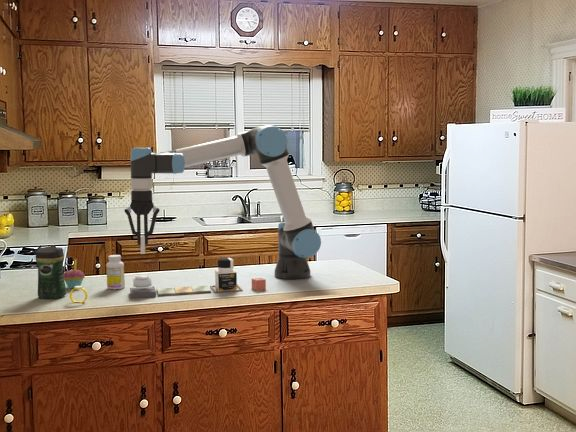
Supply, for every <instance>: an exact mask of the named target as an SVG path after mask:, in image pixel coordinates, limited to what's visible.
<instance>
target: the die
mask: <svg viewBox="0 0 576 432" xmlns="http://www.w3.org/2000/svg"><path fill="white" fill-rule="evenodd" d="M266 281H267V279H265V278H263V277H253V278H251V289H252V290H254V291H264V290H265V291H266V290H267V284H266Z"/></svg>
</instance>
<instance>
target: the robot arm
mask: <svg viewBox="0 0 576 432" xmlns="http://www.w3.org/2000/svg"><path fill="white" fill-rule="evenodd" d="M236 156H237V157H238V156H241V157H244V158H245V157H248V156H257V157H258V160H259V163H260V165H261V166H263V167H265V169H266V171H267V174H268V176H269V180H270V184H271V187H272V189H273V191H274V195H275V198H276V201H277V203H278V206H279V209H280V212H281V214H282V218H283V222H279V223H278V224H277V225H278V226H277V227H278V228H277V235H278V236H277V241H278V243H277V245H278V247H277V248H278V249H277V250H278V259H277V262H276V265H275V268H274V277H275V278H278V279H283V280H301V279H307V278H310V277H311V269H310V265H309V262H308V258H311V257H313V256H315V255H316V254H317V253H318V252H319V250H320V248H321V245H322V240H321V236H320V234H319V233H318V231H316V230H315V228H314V225H313V223H312V219H311V218H309V217H307V216H306V214H305V209H304V207H303V204H302V202H301V199H300V196H299V192H298V189H297V186H296V183H295V180H294V178H293V175H292V172H291V169H290V166H289V162H288V158H289V156H290V154H289V150H288V136H287V135H286V133H285V131H284V130H283V129H282V128H280V127H278V126H276V125H272V124H271V125H270V124H268V125H261V126H257V127H256V126H255V127H253V128H251V129H250V130H245V131H243V132H238V133H236V135H235V136H231V137H226V138H222V139H217V140H213V141H208V142H205V143H199V144H196V145H191V146H186V147H183V148H178V149H174V150H168V151H161V152H153V151H152V148H151V147H133V148H131V149H130V160H129V161H130V188H131V193H130V194H131V196H130V197H131V199H130V202H131V203H130V204H129V207H127V208H124V213H125V214H126V215H127V219H128V222H129V227H130V230H131V233H132V235H133V236H136V237H137V242H136V244H137V245H138V246H140V254H141V255H145V254H146V245H149V236H150V235H153V234H154V230H155V226H156V225H155V224H156V220H157V218H158V217H157V216H158V214H159V213H160V212H161V211H160V208H158V207H156V206H155V205H154V202H153V191H152V189H153V178H152V177H153V176H152V175H153V174H174V175H176V174H183V173H184V172H185V168H189V167H191V166H192V167H193V166H197V165H202V164H205V163H209V162H211V163H212V162H214V161H219V160H224V159H228V158H231V157H236ZM132 211H133V212H134V214H135V215H136V229H135V225H134V221H133V218H132V214H131V213H132ZM151 211H152V212H153V213H152V217H151V223H150V226H148V225H149V224H148V223H149V220H148V219H149V218H148V215H149V214H150V213H151ZM141 216H143V229H144V230H143V235H142V234H141V232H142V231H141V230H142V229H141Z"/></svg>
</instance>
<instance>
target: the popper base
mask: <svg viewBox="0 0 576 432" xmlns="http://www.w3.org/2000/svg"><path fill="white" fill-rule="evenodd" d="M129 294H130V295H129V296H130V299H132V300H133V299H143V298H144V299H145V298H156V297H157V290H156V288H155V286H149V287H129Z"/></svg>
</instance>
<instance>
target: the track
mask: <svg viewBox="0 0 576 432" xmlns="http://www.w3.org/2000/svg"><path fill="white" fill-rule="evenodd" d="M211 290H212V289H211V288H209V286H208V285H194V286H193V285H192V286H178V287H177V286H176V287H164V288H160V287H159V288H156V294H157V297H169V296H170V297H171V296H185V295H199V294H211V293H212V291H211Z"/></svg>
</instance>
